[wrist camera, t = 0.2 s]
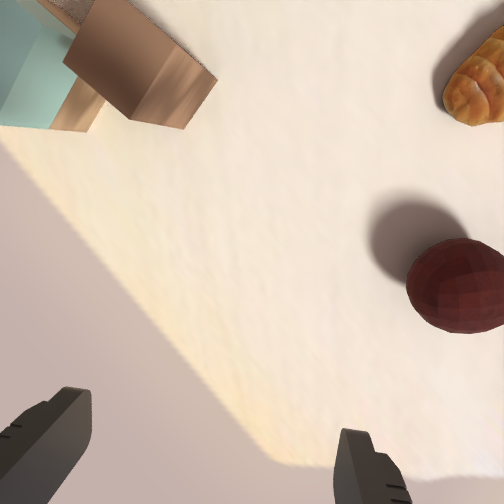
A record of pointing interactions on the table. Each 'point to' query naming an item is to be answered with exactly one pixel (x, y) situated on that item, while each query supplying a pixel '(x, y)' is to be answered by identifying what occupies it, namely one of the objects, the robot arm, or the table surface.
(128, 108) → the post
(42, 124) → the tower top
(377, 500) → the robot arm
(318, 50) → the table surface
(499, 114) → the pastry
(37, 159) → the table surface
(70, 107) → the tower base
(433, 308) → the potato
